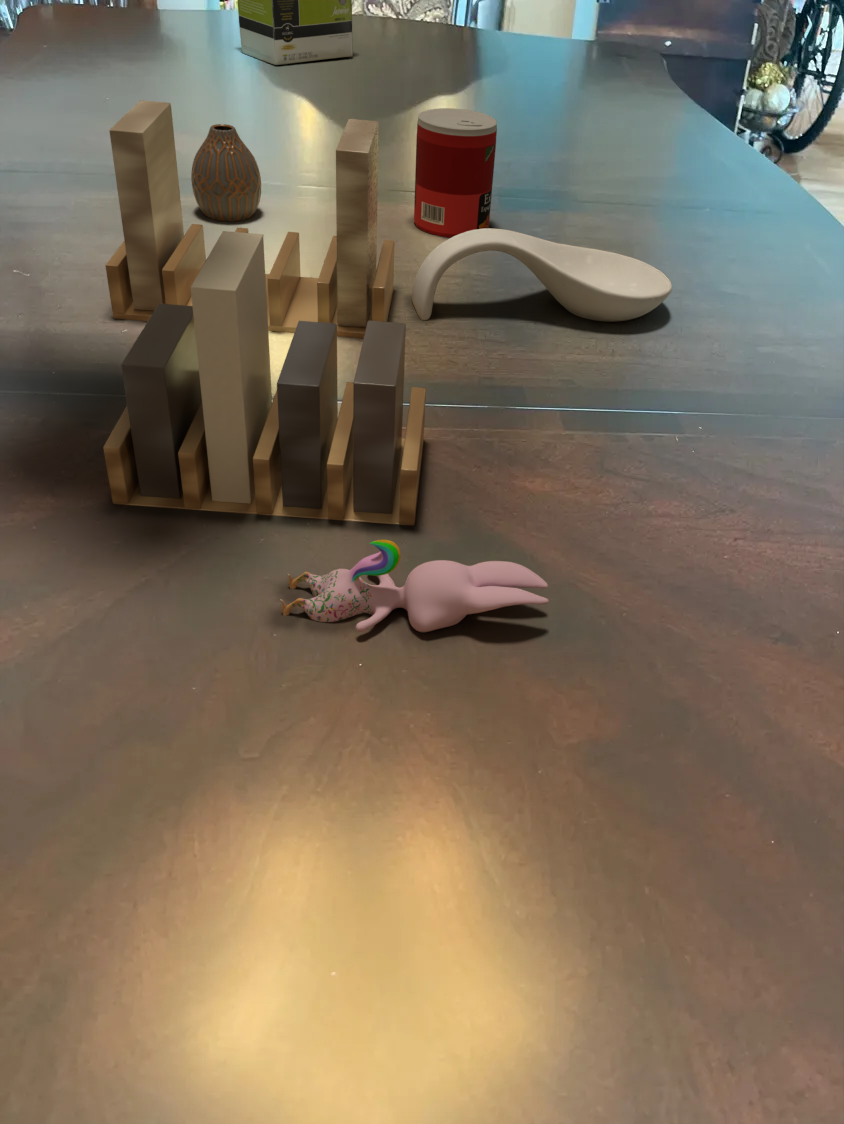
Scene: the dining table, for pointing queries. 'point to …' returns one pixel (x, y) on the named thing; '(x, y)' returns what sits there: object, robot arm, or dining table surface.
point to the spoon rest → (555, 274)
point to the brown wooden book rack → (273, 428)
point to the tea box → (295, 29)
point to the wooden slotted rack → (176, 259)
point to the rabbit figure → (416, 590)
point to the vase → (225, 176)
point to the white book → (233, 360)
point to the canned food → (454, 171)
